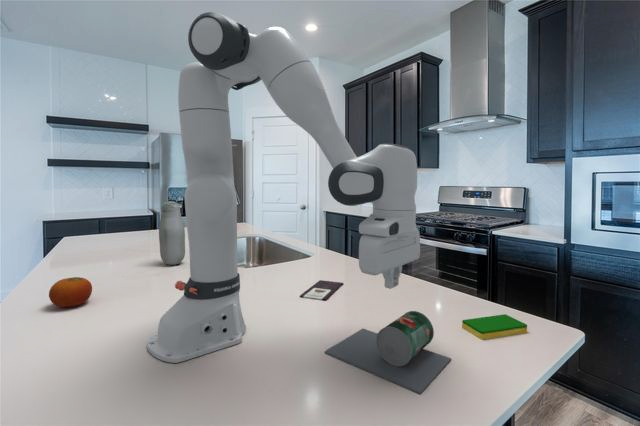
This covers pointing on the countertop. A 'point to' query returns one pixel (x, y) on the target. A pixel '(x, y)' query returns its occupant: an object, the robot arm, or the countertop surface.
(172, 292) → the countertop surface
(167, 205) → the grey bottle
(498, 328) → the dish sponge
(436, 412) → the countertop surface
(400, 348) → the canned tomato
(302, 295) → the chocolate bar
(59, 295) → the fruit
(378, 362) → the rubber mat
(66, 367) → the countertop surface
